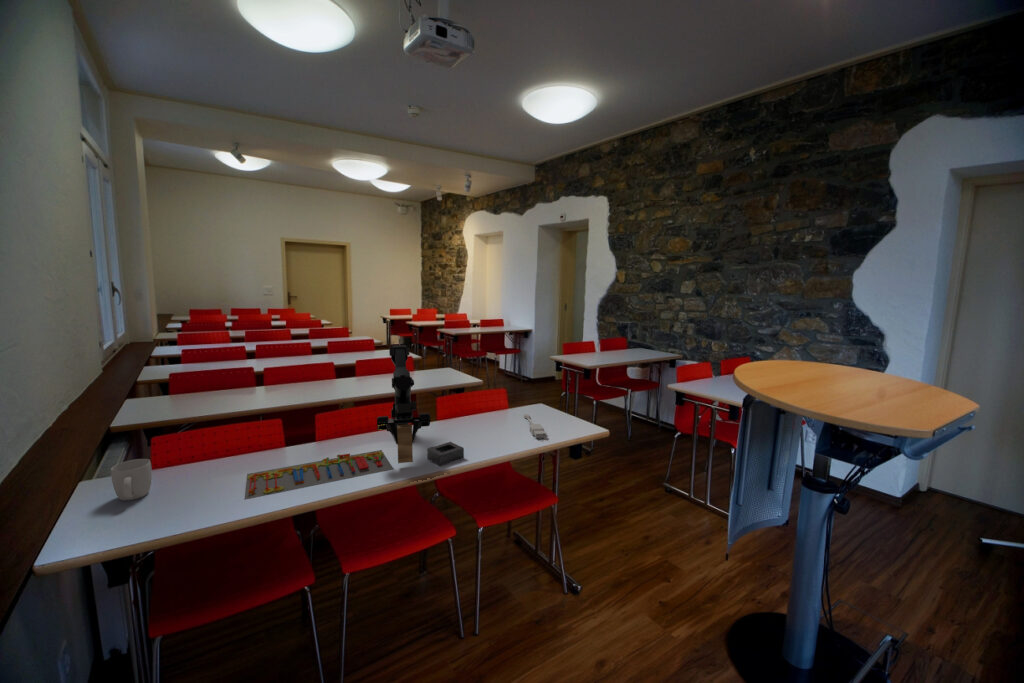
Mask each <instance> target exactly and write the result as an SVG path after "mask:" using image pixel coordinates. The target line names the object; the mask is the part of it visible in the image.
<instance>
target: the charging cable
mask: <svg viewBox="0 0 1024 683" xmlns="http://www.w3.org/2000/svg"><path fill="white" fill-rule="evenodd" d="M523 418H524V420H528V422H529V423H530V424H529V432H530V433H531V435H532V436H533V437H535V438H546V435H547V434H546V432H545V429H544V427H543V426H542V425H541V423H533V421H532V420H531V416H530V414H529V413H527V414H525V413H524V414H523Z"/></svg>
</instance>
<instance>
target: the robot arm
mask: <svg viewBox="0 0 1024 683" xmlns="http://www.w3.org/2000/svg"><path fill="white" fill-rule="evenodd" d="M388 349H389V352H388V353H389V357H390V358H391V362H392V363H393V365H394V371H393V372H392V374H393V375H392V376H393V377H392V378H391V388H392V389H393V390H394V403H393V404H392V408H391V409H390V417H391V418H389V416H388V415H385V416H377V418H376V428H377V430H378V431H385V430H386V432H389V433H390V434H391V435H392V438H393V439H394V442H395V444H396V445H398V438H397V425H406V424H412V444H414V442H415V439H416V435H417V433H418V430H420V429H421V428H422V427H429V426H430V425H431V414H430V413H429V412H425V413H424V412H423V413H421V412H420V413H418V417H413V416H414V415H413V414H414V411H416V410H417V401H416V400H411V393H412V387H414V385H415V380H414V379H413V377H411V374H410V371H409V370H408V369H407V361H408V359H409V357H408V356H410V346H407V345H406V344H399V345H398V344H397V345H396V344H395V345H393V344H392V345H391V347H389V348H388Z"/></svg>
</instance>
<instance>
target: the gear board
mask: <svg viewBox="0 0 1024 683" xmlns="http://www.w3.org/2000/svg"><path fill="white" fill-rule="evenodd" d="M391 470H394V467H393V466H392V464H391V463H390V461H389V459H388V458H387V457H386V455H385V454H384V452H383V450H382V449H378V450H374V451H369V452H362V453H357V454H350V453H344V454H337V455H336V458H330V457H326V458H323V459H321V460H317V461H313V462H307V463H301V464H295V465H290V466H284V467H283V466H282V467H280V468H279V467H278V468H272V469H267V470H260V471H256V472H255V471H254V472H250V473H247V475H246V482H245V491H244V500H250V499H254V498H259V497H264V496H269V495H275V494H279V493H284V492H290V491H294V490H299V489H302V488H303V489H304V488H308V487H313V486H318V485H319V486H320V485H322V484H324V485H325V484H328V483H334V482H338V481H342V480H348V479H353V478H356V477H357V478H358V477H363V476H368V475H372V474H376V473H381V472H387V471H391Z"/></svg>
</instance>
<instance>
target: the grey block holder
mask: <svg viewBox="0 0 1024 683" xmlns="http://www.w3.org/2000/svg"><path fill="white" fill-rule="evenodd" d="M426 450H427V453H426V456H427V460H428V461H431V462H432V463H434V464H436V465H437V466H440V467H441V466H445V465H448V464H450V463H451V464H452V463H453V462H456V461H459V460H462V459H465V456H464V454H465V449H464V447H463V446H460V445H459V444H456V443H455V442H452V441H449V442H446V443H441V444H439V445H435V446H432V447H428V448H427V449H426Z"/></svg>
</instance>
